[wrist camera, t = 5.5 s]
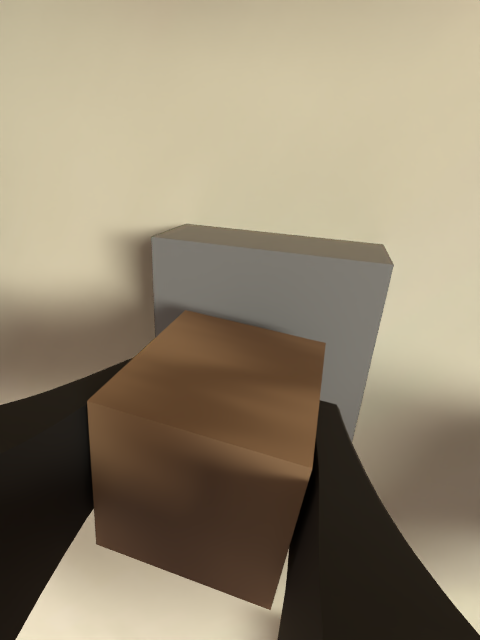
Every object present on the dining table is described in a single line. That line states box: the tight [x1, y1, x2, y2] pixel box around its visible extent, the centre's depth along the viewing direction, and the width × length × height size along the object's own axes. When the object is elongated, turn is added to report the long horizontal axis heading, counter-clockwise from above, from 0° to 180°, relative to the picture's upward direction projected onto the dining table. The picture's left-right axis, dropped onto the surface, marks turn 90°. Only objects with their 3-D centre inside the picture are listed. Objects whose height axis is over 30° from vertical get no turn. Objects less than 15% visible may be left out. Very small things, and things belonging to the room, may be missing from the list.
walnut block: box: [87, 310, 326, 610], centre depth 10 cm, size 4×4×5 cm
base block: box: [151, 224, 394, 442], centre depth 15 cm, size 8×8×4 cm
